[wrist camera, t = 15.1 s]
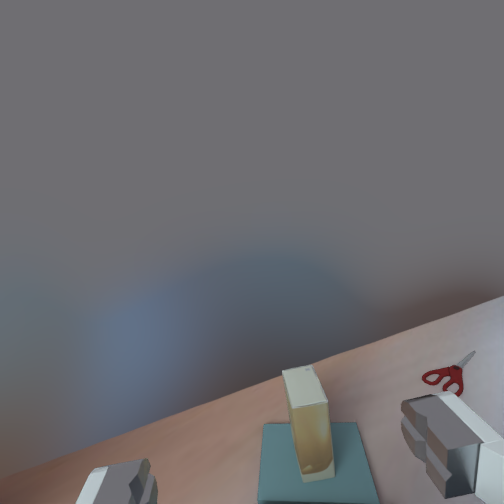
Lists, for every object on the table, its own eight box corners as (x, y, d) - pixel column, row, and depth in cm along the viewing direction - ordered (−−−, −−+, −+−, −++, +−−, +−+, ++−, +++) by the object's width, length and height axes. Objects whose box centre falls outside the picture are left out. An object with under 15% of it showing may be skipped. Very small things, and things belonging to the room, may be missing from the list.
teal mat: (258, 504, 31) (257, 500, 31) (264, 428, 41) (263, 424, 40) (380, 508, 29) (379, 504, 29) (356, 426, 38) (355, 422, 38)
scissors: (419, 381, 45) (419, 377, 44) (457, 347, 51) (458, 342, 51) (456, 401, 40) (456, 396, 40) (493, 360, 46) (493, 356, 46)
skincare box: (291, 437, 37) (280, 368, 34) (320, 431, 38) (311, 362, 34) (303, 487, 31) (290, 408, 28) (337, 480, 31) (328, 400, 28)
